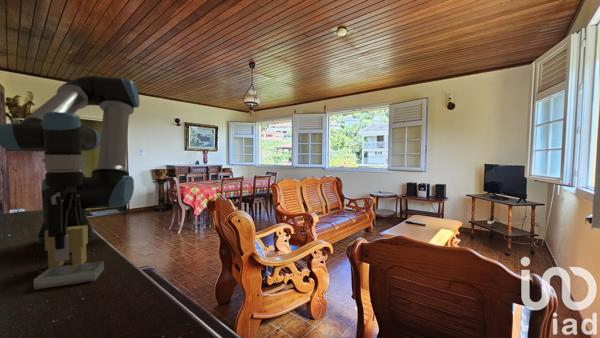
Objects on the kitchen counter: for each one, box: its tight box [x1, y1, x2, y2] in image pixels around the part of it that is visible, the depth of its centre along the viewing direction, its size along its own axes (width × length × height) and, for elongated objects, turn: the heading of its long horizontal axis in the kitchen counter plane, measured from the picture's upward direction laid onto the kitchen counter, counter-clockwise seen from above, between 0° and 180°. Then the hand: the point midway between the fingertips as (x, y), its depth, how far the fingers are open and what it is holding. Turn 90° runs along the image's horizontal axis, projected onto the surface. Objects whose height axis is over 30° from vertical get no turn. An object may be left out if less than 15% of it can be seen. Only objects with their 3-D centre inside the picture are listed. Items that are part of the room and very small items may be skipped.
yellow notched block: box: [44, 225, 89, 268], centre depth 72 cm, size 4×8×10 cm, turn 112°
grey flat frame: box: [33, 260, 105, 290], centre depth 64 cm, size 7×11×2 cm, turn 112°
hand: (68, 255), depth 72 cm, fingers open, 6 cm apart
